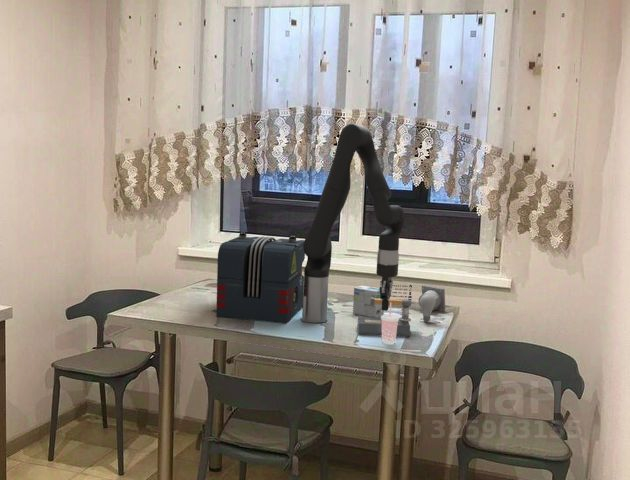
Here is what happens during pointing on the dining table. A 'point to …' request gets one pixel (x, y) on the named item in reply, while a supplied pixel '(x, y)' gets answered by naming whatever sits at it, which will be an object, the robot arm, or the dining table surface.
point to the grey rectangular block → (375, 324)
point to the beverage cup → (389, 327)
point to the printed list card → (434, 291)
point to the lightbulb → (427, 306)
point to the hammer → (394, 301)
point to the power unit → (260, 278)
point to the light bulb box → (366, 301)
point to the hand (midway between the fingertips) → (384, 310)
